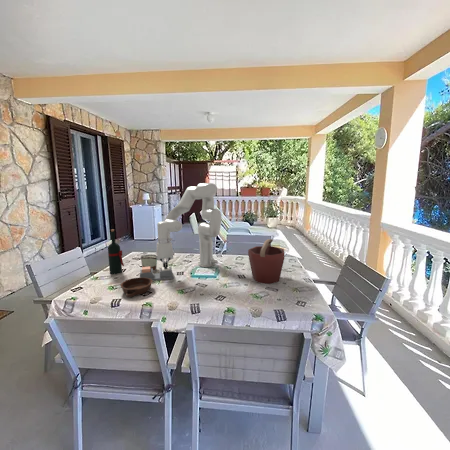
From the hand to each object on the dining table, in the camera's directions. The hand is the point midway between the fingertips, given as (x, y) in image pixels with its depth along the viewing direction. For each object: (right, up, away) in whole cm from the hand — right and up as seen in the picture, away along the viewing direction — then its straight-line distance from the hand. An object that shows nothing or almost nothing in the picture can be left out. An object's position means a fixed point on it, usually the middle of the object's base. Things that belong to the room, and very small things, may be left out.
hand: (165, 268), depth 168 cm
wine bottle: (-35, -5, +9) cm, 37 cm away
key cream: (0, -3, 0) cm, 3 cm away
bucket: (+66, -6, -5) cm, 66 cm away
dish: (-12, -10, -20) cm, 25 cm away
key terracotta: (-12, -2, -3) cm, 12 cm away
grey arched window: (-14, -3, +16) cm, 21 cm away
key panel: (-6, -6, -1) cm, 8 cm away
